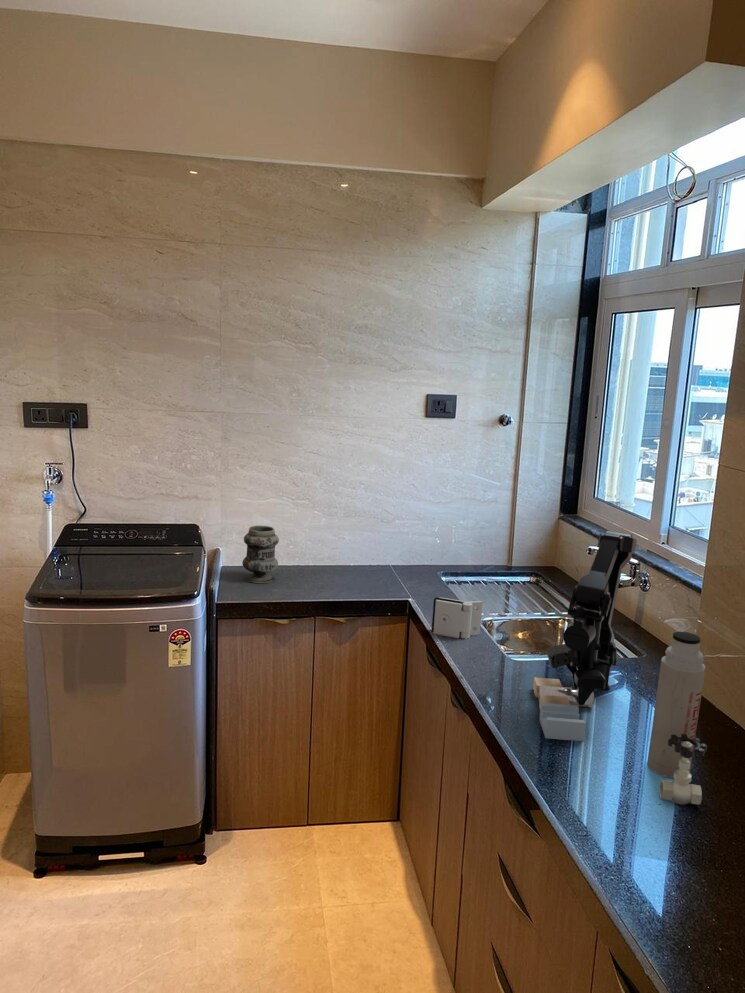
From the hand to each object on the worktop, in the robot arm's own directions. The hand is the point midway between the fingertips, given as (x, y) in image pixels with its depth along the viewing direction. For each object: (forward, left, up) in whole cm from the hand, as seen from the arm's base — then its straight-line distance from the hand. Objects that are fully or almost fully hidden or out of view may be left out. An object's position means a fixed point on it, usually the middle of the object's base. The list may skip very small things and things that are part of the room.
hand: (578, 700), depth 174 cm
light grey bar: (+3, 0, -1) cm, 3 cm away
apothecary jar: (+91, -78, -2) cm, 120 cm away
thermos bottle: (-13, +25, -1) cm, 28 cm away
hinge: (+26, -40, -2) cm, 48 cm away
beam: (+6, 0, -1) cm, 7 cm away
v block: (+6, +13, -1) cm, 15 cm away
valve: (-11, +37, -2) cm, 38 cm away
